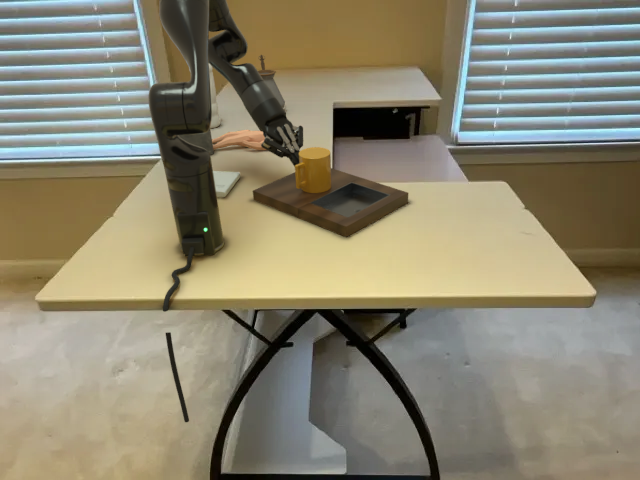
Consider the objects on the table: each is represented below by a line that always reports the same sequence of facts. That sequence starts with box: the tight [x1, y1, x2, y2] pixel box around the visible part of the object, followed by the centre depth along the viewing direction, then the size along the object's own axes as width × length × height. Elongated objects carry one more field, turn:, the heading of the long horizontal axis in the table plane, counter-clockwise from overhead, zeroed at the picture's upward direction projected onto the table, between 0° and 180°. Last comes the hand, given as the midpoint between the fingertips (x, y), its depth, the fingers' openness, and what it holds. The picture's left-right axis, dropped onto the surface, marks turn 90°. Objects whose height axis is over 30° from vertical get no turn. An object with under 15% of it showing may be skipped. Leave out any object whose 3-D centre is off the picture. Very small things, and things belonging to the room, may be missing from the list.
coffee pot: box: [257, 54, 286, 109], centre depth 200 cm, size 21×12×15 cm, turn 8°
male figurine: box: [212, 129, 267, 151], centre depth 175 cm, size 11×5×25 cm
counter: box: [252, 167, 409, 238], centre depth 142 cm, size 30×22×2 cm
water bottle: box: [188, 64, 221, 130], centre depth 184 cm, size 7×7×25 cm
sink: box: [310, 182, 390, 218], centre depth 139 cm, size 12×15×2 cm
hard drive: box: [213, 170, 241, 198], centre depth 152 cm, size 2×8×12 cm
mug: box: [294, 146, 332, 193], centre depth 141 cm, size 10×7×8 cm
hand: (302, 167), depth 144 cm, fingers closed
